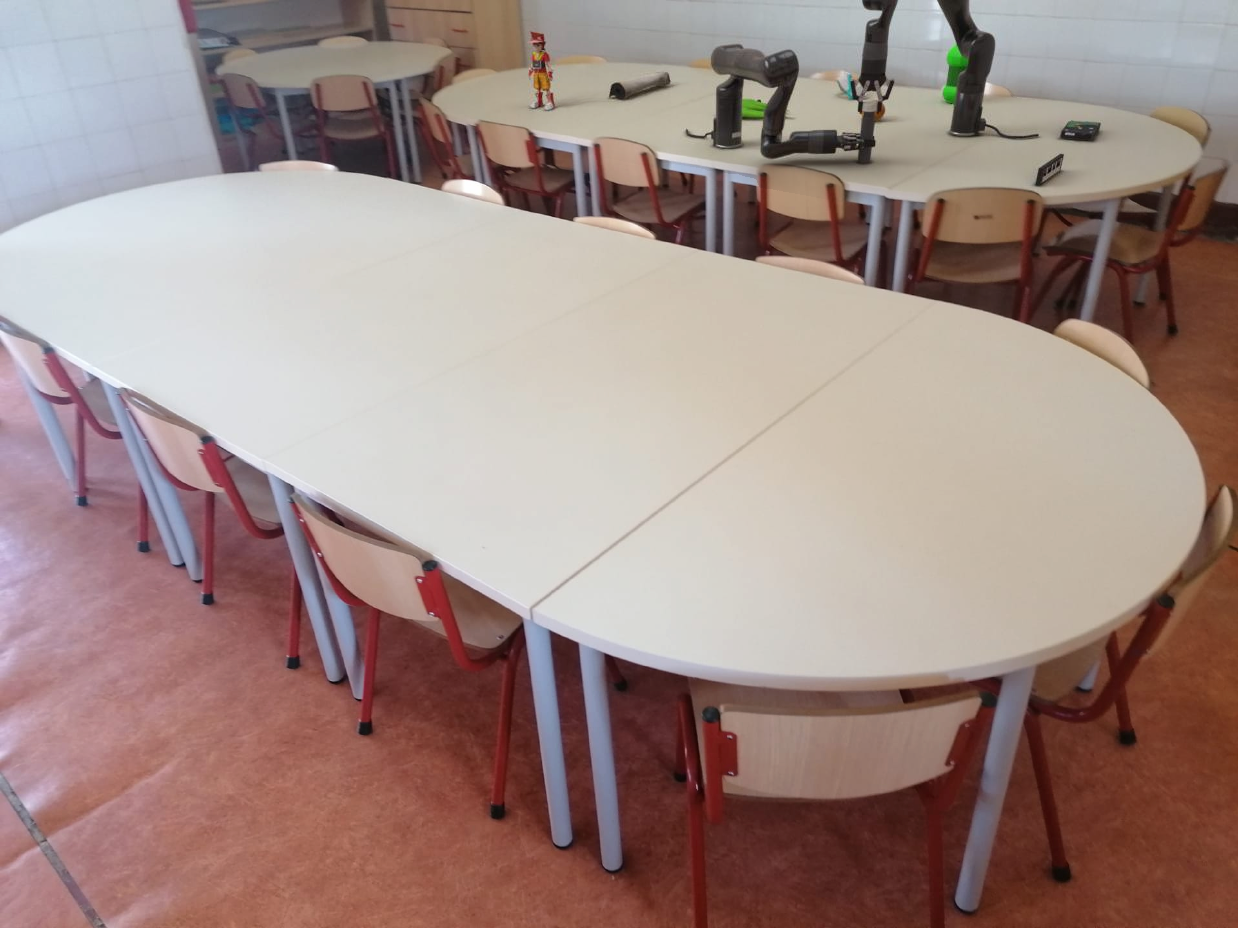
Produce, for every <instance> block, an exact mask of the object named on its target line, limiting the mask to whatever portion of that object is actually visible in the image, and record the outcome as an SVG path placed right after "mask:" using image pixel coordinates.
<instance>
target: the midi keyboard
mask: <svg viewBox="0 0 1238 928" xmlns="http://www.w3.org/2000/svg"><path fill="white" fill-rule="evenodd" d="M1064 157H1065V153H1059V154H1058V155H1056V156H1055V157H1052V159H1051V160H1049V161H1047V162H1045V164H1042V165H1041V166H1039V167H1038V169H1037V175H1036V179H1035V186H1040V185H1042V183H1044V182H1045V181H1047V180H1048V179H1049V178H1051V177H1052V176H1054V175H1055V174H1056V173H1058V172H1060V171H1061V170H1062V165H1063V161H1064Z"/></svg>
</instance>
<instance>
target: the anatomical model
mask: <svg viewBox="0 0 1238 928" xmlns="http://www.w3.org/2000/svg"><path fill="white" fill-rule="evenodd" d="M852 79H853V75H852V73H850V71H847V70H846V71H845V72H844V74H843V75H841V76H838V77H837V78H836V83H837V85H838V87H839V90H840V91H841V92H842V93H846V95H847V98H849V100H853V96H852V90H851V85H850V81H851V80H852ZM862 89H863V87H862V86H861V84H860V85H857V86H856V93H857V95H858V96H860V94H861V91H862ZM867 97H868V94H867V93H865V95H864V97H863V99H864V98H867Z"/></svg>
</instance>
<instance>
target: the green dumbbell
mask: <svg viewBox="0 0 1238 928" xmlns="http://www.w3.org/2000/svg"><path fill="white" fill-rule="evenodd" d="M946 63H947V64H948V69H947V70H948V71H947V76H946V77H947V78H946V84H945V85H944V87H943V90H942V97H943V99H944V100H945V101H946V102H947V103H948V104H954V103H955V96H956V90H957V83H958V77H959V74H960V73H961V72H963V71H965V70H966V68H967V64H968V59H966V58H964V57H963V56H962V55H961V54H960V52H959V50H958V47H957V44H956V43H955V44H954V45H953V46H952V47H951V48H950V49H949V50H948V52H947V54H946Z"/></svg>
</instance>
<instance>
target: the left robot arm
mask: <svg viewBox="0 0 1238 928" xmlns="http://www.w3.org/2000/svg"><path fill="white" fill-rule="evenodd" d="M710 67H711V68H712V70H713V71H714V73H715V74H716V75H719V76H725V75H727V76H728V75H729V77H728V78H727V79H726V80H725V81H723V82H721V83H720V84H718V85H717V86H716V88H715V117H714V118H713V121H712V123H713V127H712V128H713V129H712V130H711V131H710V132H706V133H705V134H704V135H698V134H694V133H693V134H692V133H689V129H688V128H686V129H685V134H686V135H687V136H689V137H692V138H696V139H704V138H707V136H710V139H711V140H712V141H713V143H712V145H713V147H715V148H720V149H735V148H739V147H742V145H743V142H742V139H743V138H742V136H743V135H742V133H743V130H742V129H743V117H742V99H743V95H744V94H743V91H744V84H745V80H746V81H750V82H753V83H754V82H755V83H757V84H759V85H762V86H763V87H765V88H767V89H775V88H776V90H775V91H774V92H773V94H772V95H771V97H770V98H769V100H768V101H767V102H766V104H767V105H766V107H765V110H763V111H764V117H763V118H762V127H761V131H760V132H761V134H760V149H759V150H760V154H761V155H762V157H763V158H765V159H769V160H777V159H780V158H783V157H787V156H791V155H795V154H809V155H834V154H836V152H837V149H841V150H843V152H851V151H859V150H861V149H862V148H863V147H872V148H875V147H876V144H877V141H876V139H875V135H873V140H863V139H862V140H860V132H846V131H845V132H843V131H842V133H841V135H838V131H837V129H814V130H813V129H812V130H795V131H792V132H791V133H790V134H789V138H788V139H787V140H783V131H784V128H785V124H786V119H787V118H786V116H787V112H788V111H787V110H788V107H789V103H790V100H791V97H792V95H793V92H794V90H795V86H796V83H797V80H798V77H799V73H800V62H799V58H798V56H797V54H796V53H795V51H794V50H792V49H790V48H789V49H784V50H780V51H777V52H775V53H771V54H769V55H765V53H764V52H762V51H761V50H759V49H756V48H745V47H744V46H743V45H742V44H741V43H733V44H723V45H719V46H716V47H715V48H714V49H713V50H712V52H711V55H710Z"/></svg>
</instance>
